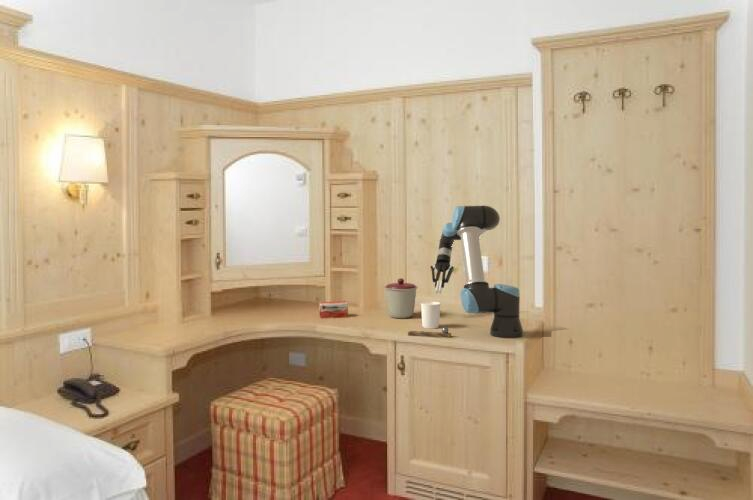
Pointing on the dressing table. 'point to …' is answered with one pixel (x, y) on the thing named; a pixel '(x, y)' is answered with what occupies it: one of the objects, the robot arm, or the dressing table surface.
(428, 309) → the white cup
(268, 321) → the dressing table surface
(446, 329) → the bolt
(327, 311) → the medicine box
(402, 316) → the canister
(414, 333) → the hole rail
